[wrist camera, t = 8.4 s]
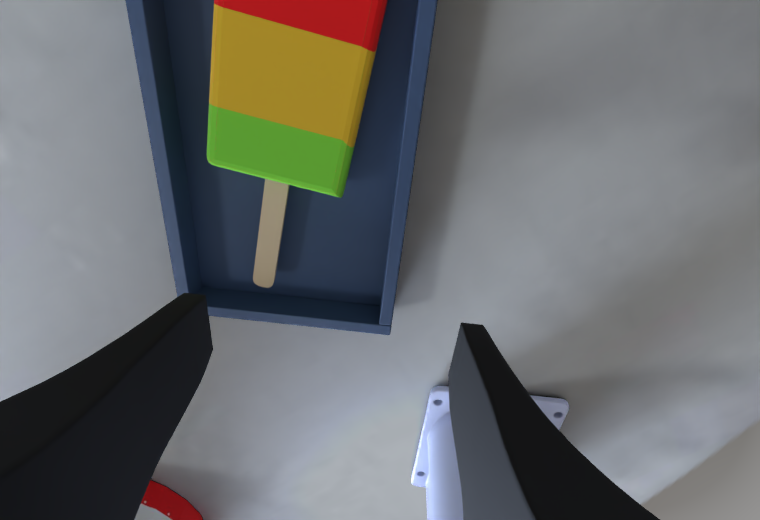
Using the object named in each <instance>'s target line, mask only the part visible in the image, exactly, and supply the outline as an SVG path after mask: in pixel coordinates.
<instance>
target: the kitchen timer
mask: <svg viewBox="0 0 760 520" xmlns="http://www.w3.org/2000/svg"><path fill="white" fill-rule="evenodd" d="M134 520H203V519H202V516H201V515H200V513H199V512H198V511H197V510H196V509H195V508H194V507H193V506H192V505H191V504H190V503H189V502H188V501H187V500H186V499H184V498H183V497H181V496H180V495H178V494H176V493H175V492H173V491H172V490H170V489H169V488H167V487H165V486H163V485H161V484H158V483H156V482H154V481H152V480H150V482H149V485H148V487H147V490H146V492H145V494H144V497H143V499H142V502H141V504H140V507H139V509H138V512H137V514H136V517H135V519H134Z"/></svg>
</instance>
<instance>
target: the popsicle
mask: <svg viewBox="0 0 760 520" xmlns="http://www.w3.org/2000/svg"><path fill="white" fill-rule="evenodd" d="M387 1H388V0H214V12H213V33H212V53H211V73H210V94H209V114H208V135H207V160H208V162H209V163H210V164H211V165H214V166H217V167H221V168H225V169H229V170H233V171H237V172H241V173H245V174H249V175H252V176H256V177H260V178H264V179H265V185H264V193H263V201H262V209H261V217H260V225H259V233H258V241H257V249H256V257H255V265H254V273H253V281H254V283H255V284H256V285H258V286H261V287H266V288H268V287H271V286H272V285H273V283H274V280H275V275H276V269H277V263H278V256H279V250H280V243H281V237H282V231H283V224H284V218H285V211H286V205H287V199H288V192H289V186H290V185H292V186H296V187H300V188H304V189H308V190H312V191H316V192H320V193H324V194H328V195H331V196H335V197H340V198H342V196H343V193H344V190H345V186H346V181H347V177H348V173H349V168H350V164H351V159H352V155H353V151H354V146H355V142H356V137H357V133H358V129H359V124H360V120H361V116H362V111H363V107H364V102H365V98H366V94H367V89H368V85H369V80H370V76H371V72H372V67H373V63H374V59H375V54H376V50H377V45H378V41H379V37H380V32H381V28H382V23H383V19H384V15H385V10H386V6H387Z"/></svg>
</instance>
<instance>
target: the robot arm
mask: <svg viewBox="0 0 760 520" xmlns="http://www.w3.org/2000/svg"><path fill="white" fill-rule="evenodd" d="M212 351H213V345H212V338H211V330H210V323H209V315H208V308H207V300H206V295H201V294H192V293H183V294H182V295H180V296H178V297H177V298H176V299H174V300H173V301H171V302H170V303H168V304H167V305H166V306H164V307H163V308H161V309H160V310H159V311H157V312H156V313H154V314H153V315H152V316H150V317H149V318H147V319H146V320H144V321H143V322H142V323H140V324H139V325H137V326H136V327H134V328H133V329H131V330H130V331H129V332H127V333H126V334H124V335H123V336H121V337H120V338H118V339H116V340H115V341H113V342H112V343H110V344H108V345H107V346H105V347H104V348H102V349H100V350H99V351H97V352H96V353H94V354H93V355H91V356H89V357H88V358H86V359H84V360H83V361H81V362H79V363H77V364H76V365H74V366H72V367H70V368H69V369H67V370H65V371H63V372H61V373H59V374H57V375H55V376H53V377H52V378H50V379H48V380H46V381H44V382H42V383H40V384H38V385H36V386H34V387H31V388H29V389H27V390H25V391H23V392H21V393H18V394H16V395H14V396H12V397H10V398H8V399H5V400H3V401H1V402H0V520H134V519H135V517H136V514H137V512H138V509H139V507H140V504H141V502H142V499H143V497H144V494H145V492H146V490H147V487H148V485H149V482H150V480H151V478H152V475H153V473H154V470H155V468H156V466H157V464H158V462H159V460H160V458H161V456H162V453H163V451H164V450H165V448H166V446H167V444H168V442H169V440H170V438H171V437H172V435H173V433H174V431H175V429H176V427H177V426H178V424H179V422H180V420H181V418H182V416H183V414H184V413H185V411H186V409H187V407H188V405H189V403H190V401H191V400H192V398H193V396H194V394H195V392H196V390H197V388H198V386H199V384H200V382H201V380H202V378H203V375H204V373H205V370H206V367H207V365H208V362H209V359H210V356H211V354H212ZM448 376H449V387H448V386H435V387H433V388H432V389H431V392H430V396H429V401H428V405H427V410H426V414H425V419H424V423H423V428H422V432H421V436H420V441H419V445H418V450H417V454H416V459H415V463H414V468H413V472H412V477H411V482H412V484H413V485H415V486H418V487H426V496H427V520H660V519H658V518H657V517H656V516H654V515H653V514H652V513H650V512H649V511H648V510H646V509H645V508H644V507H642V506H641V505H640V504H639V503H637V502H636V501H635V500H634V499H632V498H631V497H630V496H629V495H628V494H626V493H625V492H624V491H623V490H622V489H620V488H619V487H618V486H617V485H615V484H614V483H613V482H612V481H611V480H610V479H609V478H607V477H606V476H605V475H604V474H603V473H602V472H601V471H600V470H598V469H597V468H596V467H595V466H594V465H593V464H592V463H591V462H590V461H589V460H588V459H587V458H586V457H585V456H584V455H583V454H581V453H580V452H579V451H578V450H577V449H576V448H575V447H574V446H573V445H572V444H571V443H570V442H569V441H568V440H567V438H566V437H565V436H564V435H563V434H562V433H561V432H560V431H559V430H560V428H561V426H562V424H563V421H564V419H565V417H566V415H567V413H568V411H569V405H568V402H567V401H566V400H565V399H560V398H551V397H542V396H532V395H529V394H528V392H527V391H526V389H525V388H524V387H523V385H522V384H521V383H520V381H519V380H518V378H517V377H516V375H515V374H514V373H513V371H512V370H511V368H510V367H509V365H508V364H507V362H506V361H505V359H504V358H503V356H502V355H501V353H500V351H499V350H498V348H497V347H496V345H495V343H494V342H493V340H492V338H491V337H490V335H489V333H488V332H487V330H486V329H485V327H484V326H483V325H478V324H469V323H461V325H460V329H459V333H458V338H457V342H456V346H455V350H454V354H453V358H452V362H451V366H450V371H449V375H448ZM436 399H440V400H436ZM556 412H557V413H556Z"/></svg>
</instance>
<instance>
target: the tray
mask: <svg viewBox="0 0 760 520" xmlns="http://www.w3.org/2000/svg"><path fill="white" fill-rule="evenodd" d="M437 1H438V0H388V1H387V6H386V10H385V15H384V19H383V23H382V28H381V32H380V37H379V41H378V45H377V50H376V54H375V59H374V63H373V67H372V72H371V76H370V80H369V85H368V89H367V94H366V98H365V102H364V107H363V111H362V116H361V120H360V124H359V129H358V133H357V137H356V142H355V146H354V151H353V155H352V159H351V164H350V168H349V173H348V177H347V181H346V186H345V190H344V193H343V196H342V198H340V197H335V196H331V195H328V194H324V193H320V192H316V191H312V190H308V189H304V188H300V187H296V186H292V185H290V186H289V192H288V199H287V205H286V211H285V218H284V224H283V231H282V237H281V243H280V250H279V256H278V263H277V269H276V275H275V280H274V283H273V285H272V286H271V287H268V288H266V287H261V286H258V285H256V284H255V283H254V281H253V273H254V265H255V257H256V249H257V241H258V233H259V225H260V217H261V209H262V201H263V193H264V185H265V179H264V178H260V177H256V176H252V175H249V174H245V173H241V172H237V171H233V170H229V169H225V168H221V167H217V166H214V165H211V164H210V163H209V162H208V160H207V135H208V114H209V94H210V73H211V53H212V33H213V12H214V0H126V6H127V11H128V17H129V23H130V29H131V34H132V40H133V46H134V51H135V57H136V63H137V68H138V74H139V80H140V86H141V91H142V97H143V103H144V108H145V114H146V120H147V126H148V131H149V137H150V143H151V148H152V154H153V160H154V166H155V171H156V177H157V183H158V188H159V194H160V200H161V205H162V211H163V217H164V223H165V228H166V234H167V240H168V245H169V251H170V257H171V263H172V268H173V274H174V280H175V285H176V291H177V297H178V296H180V295H182V294H183V293H192V294H201V295H206V300H207V308H208V315H209V316H216V317H226V318H235V319H244V320H253V321H263V322H272V323H281V324H291V325H300V326H309V327H318V328H328V329H337V330H346V331H356V332H365V333H374V334H383V335H390V331H391V324H392V317H393V310H394V303H395V296H396V289H397V282H398V275H399V268H400V261H401V254H402V247H403V240H404V233H405V226H406V219H407V212H408V205H409V198H410V191H411V184H412V177H413V170H414V163H415V156H416V149H417V142H418V135H419V128H420V120H421V113H422V106H423V99H424V92H425V85H426V78H427V71H428V64H429V57H430V50H431V43H432V36H433V29H434V22H435V15H436V8H437Z"/></svg>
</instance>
